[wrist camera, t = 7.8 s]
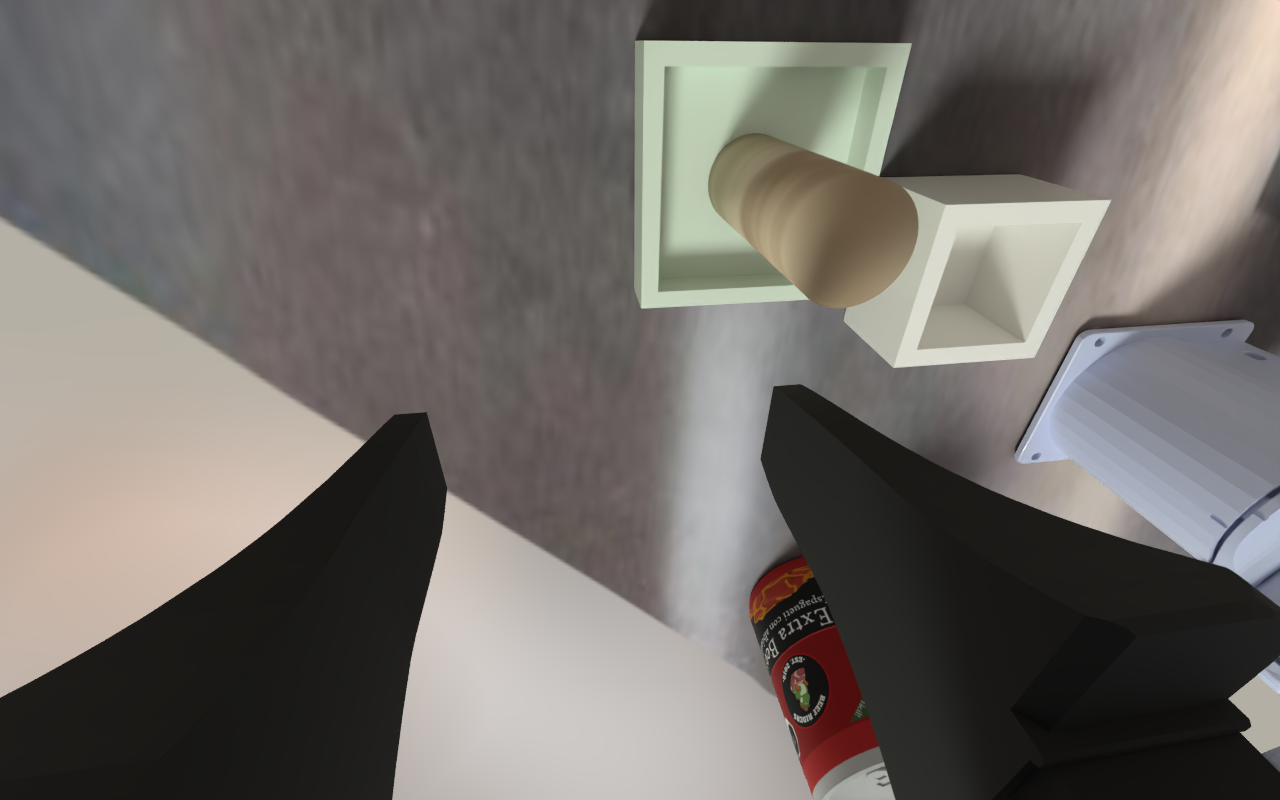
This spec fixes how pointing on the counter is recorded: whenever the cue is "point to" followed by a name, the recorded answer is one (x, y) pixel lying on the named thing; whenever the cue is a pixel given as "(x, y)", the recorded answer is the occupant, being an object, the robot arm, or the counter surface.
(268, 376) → the counter surface
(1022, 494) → the counter surface
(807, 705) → the canned food
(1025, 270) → the white open box
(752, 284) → the tray
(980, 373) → the counter surface
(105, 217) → the counter surface
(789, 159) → the dowel
